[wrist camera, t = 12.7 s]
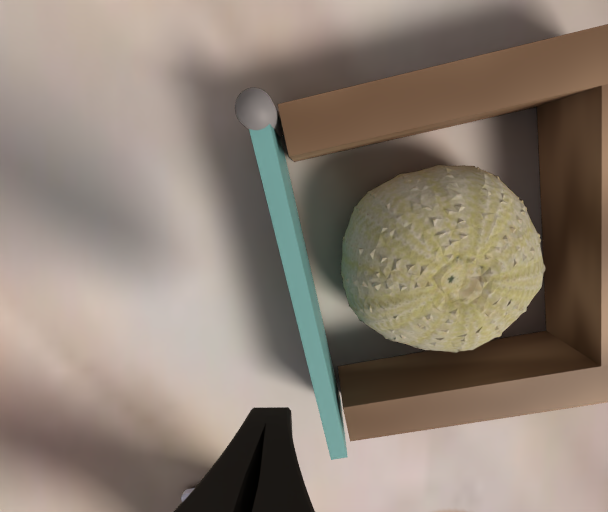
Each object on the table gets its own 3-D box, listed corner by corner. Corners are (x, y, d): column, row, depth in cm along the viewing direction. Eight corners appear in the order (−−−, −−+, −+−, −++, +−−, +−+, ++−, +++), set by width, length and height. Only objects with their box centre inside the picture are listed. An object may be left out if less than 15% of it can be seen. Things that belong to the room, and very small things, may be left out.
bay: (583, 355, 18) (646, 396, 15) (343, 395, 19) (350, 441, 16) (579, 51, 14) (661, 10, 11) (285, 120, 16) (277, 104, 12)
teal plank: (252, 116, 15) (230, 93, 11) (280, 109, 15) (268, 83, 11) (322, 403, 19) (324, 464, 15) (345, 399, 19) (354, 459, 15)
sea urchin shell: (455, 388, 17) (403, 406, 11) (359, 292, 22) (285, 266, 15) (589, 256, 15) (620, 185, 9) (451, 183, 20) (409, 103, 14)
